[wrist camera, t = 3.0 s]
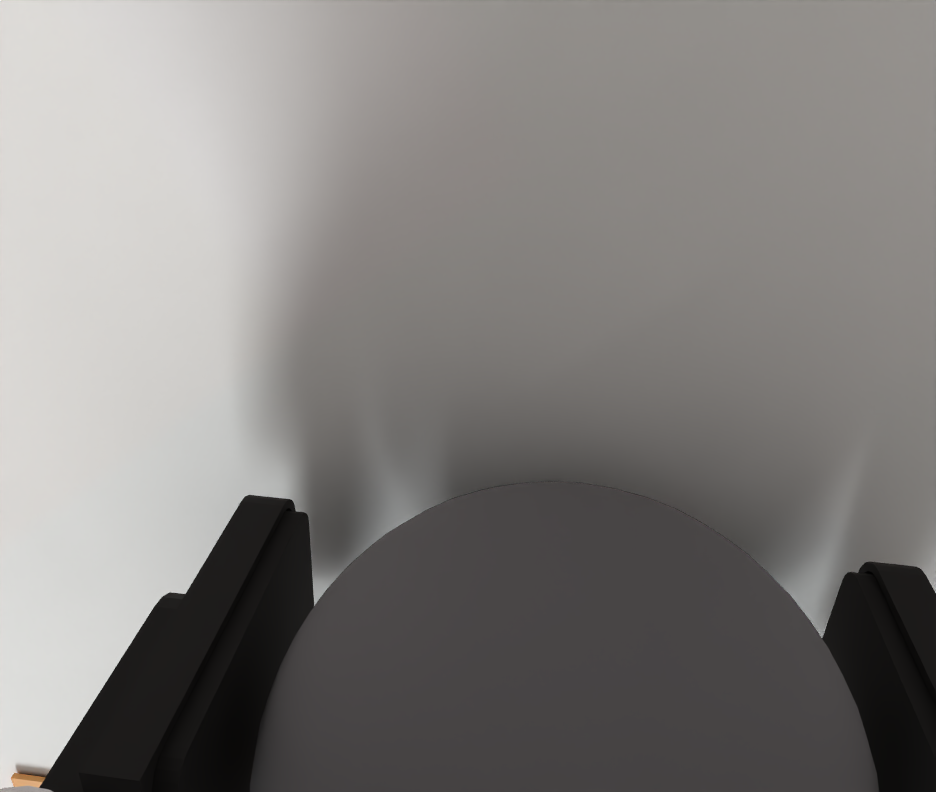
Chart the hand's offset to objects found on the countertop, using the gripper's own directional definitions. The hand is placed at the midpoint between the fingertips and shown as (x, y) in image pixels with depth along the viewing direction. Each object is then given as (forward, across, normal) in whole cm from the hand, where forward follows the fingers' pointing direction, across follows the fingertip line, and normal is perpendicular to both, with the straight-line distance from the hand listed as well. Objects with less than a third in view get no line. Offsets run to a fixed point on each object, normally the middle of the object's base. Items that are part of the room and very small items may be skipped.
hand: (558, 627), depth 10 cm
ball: (+1, 0, 0) cm, 1 cm away
